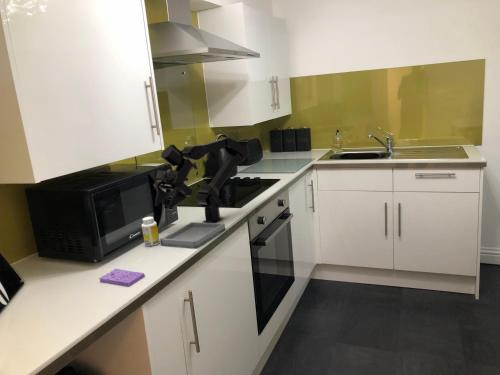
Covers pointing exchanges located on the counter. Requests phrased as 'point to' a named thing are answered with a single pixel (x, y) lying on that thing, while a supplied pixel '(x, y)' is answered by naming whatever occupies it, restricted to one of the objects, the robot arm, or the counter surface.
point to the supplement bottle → (150, 231)
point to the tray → (192, 235)
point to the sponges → (122, 277)
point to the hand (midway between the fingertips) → (162, 206)
